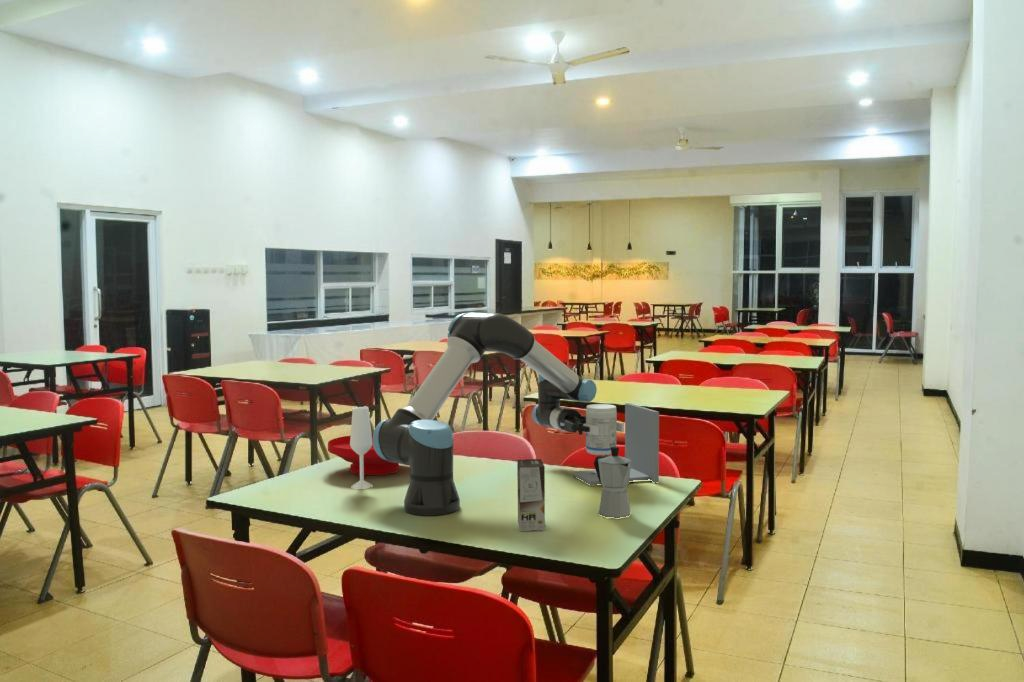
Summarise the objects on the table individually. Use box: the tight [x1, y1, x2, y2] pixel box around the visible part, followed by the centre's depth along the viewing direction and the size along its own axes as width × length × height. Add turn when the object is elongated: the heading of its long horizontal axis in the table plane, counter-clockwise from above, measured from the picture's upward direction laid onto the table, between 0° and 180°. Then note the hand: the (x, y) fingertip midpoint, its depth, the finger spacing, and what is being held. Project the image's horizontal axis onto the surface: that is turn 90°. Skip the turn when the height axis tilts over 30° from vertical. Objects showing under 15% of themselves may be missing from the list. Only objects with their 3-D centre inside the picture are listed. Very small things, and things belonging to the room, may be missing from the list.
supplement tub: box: [585, 403, 618, 456], centre depth 242 cm, size 10×10×15 cm
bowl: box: [327, 433, 400, 476], centre depth 258 cm, size 30×30×10 cm
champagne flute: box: [350, 406, 374, 490], centre depth 235 cm, size 7×7×24 cm
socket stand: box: [572, 402, 660, 485], centre depth 244 cm, size 20×21×22 cm
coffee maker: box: [593, 446, 632, 518], centre depth 205 cm, size 15×9×18 cm, turn 30°
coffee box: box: [516, 458, 546, 532], centre depth 194 cm, size 9×6×16 cm
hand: (610, 429), depth 239 cm, fingers closed on supplement tub, 9 cm apart
